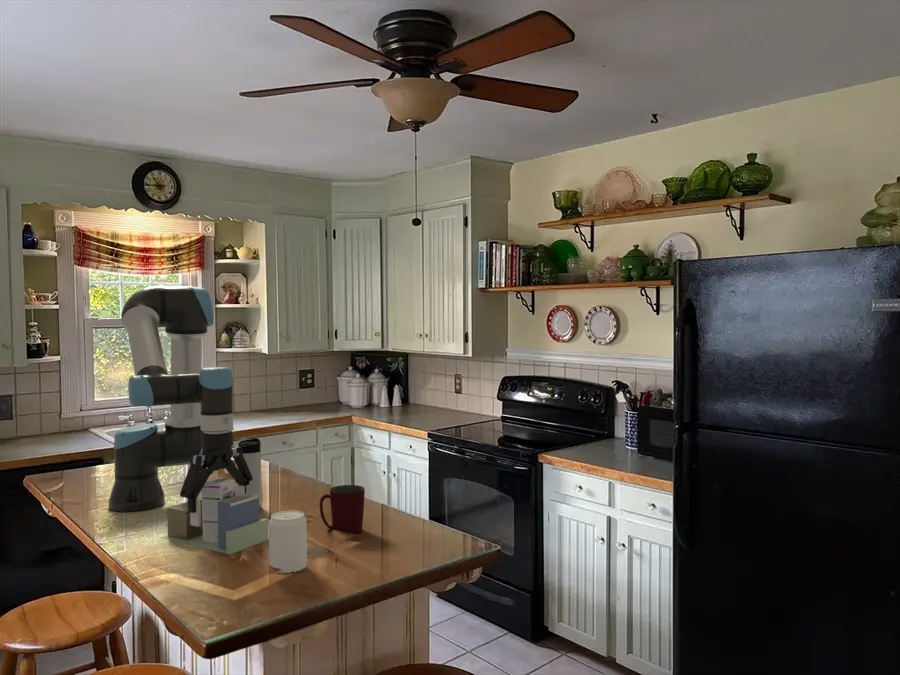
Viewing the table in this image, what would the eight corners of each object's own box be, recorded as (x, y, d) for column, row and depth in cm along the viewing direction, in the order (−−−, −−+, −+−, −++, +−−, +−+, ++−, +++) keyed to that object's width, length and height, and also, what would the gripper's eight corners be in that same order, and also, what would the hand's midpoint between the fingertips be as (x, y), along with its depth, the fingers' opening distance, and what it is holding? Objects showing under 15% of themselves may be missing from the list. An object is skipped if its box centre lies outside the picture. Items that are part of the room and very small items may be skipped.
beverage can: (272, 562, 159) (272, 510, 159) (308, 561, 160) (308, 509, 160) (266, 576, 151) (265, 520, 151) (304, 574, 152) (303, 519, 151)
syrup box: (223, 543, 168) (222, 483, 167) (201, 541, 169) (200, 482, 169) (236, 536, 173) (235, 478, 173) (215, 534, 175) (214, 476, 174)
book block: (218, 548, 165) (217, 501, 164) (247, 537, 172) (246, 493, 172) (230, 551, 163) (229, 504, 162) (259, 540, 170) (258, 495, 170)
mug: (328, 541, 174) (327, 497, 174) (313, 532, 181) (312, 489, 181) (371, 532, 181) (370, 490, 180) (355, 524, 188) (354, 483, 188)
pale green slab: (161, 543, 173) (160, 517, 173) (201, 530, 183) (200, 505, 183) (230, 560, 161) (229, 532, 160) (268, 545, 171) (268, 519, 171)
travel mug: (266, 506, 205) (265, 438, 205) (253, 512, 199) (252, 442, 198) (248, 504, 207) (247, 437, 207) (234, 510, 201) (233, 441, 200)
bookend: (167, 535, 174) (167, 507, 174) (197, 526, 182) (197, 499, 181) (186, 540, 170) (186, 511, 170) (216, 530, 178) (215, 502, 178)
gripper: (184, 440, 157) (186, 534, 158) (266, 425, 179) (267, 507, 180) (162, 437, 161) (164, 529, 162) (245, 422, 183) (246, 503, 184)
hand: (218, 518), depth 171 cm, fingers open, 13 cm apart
